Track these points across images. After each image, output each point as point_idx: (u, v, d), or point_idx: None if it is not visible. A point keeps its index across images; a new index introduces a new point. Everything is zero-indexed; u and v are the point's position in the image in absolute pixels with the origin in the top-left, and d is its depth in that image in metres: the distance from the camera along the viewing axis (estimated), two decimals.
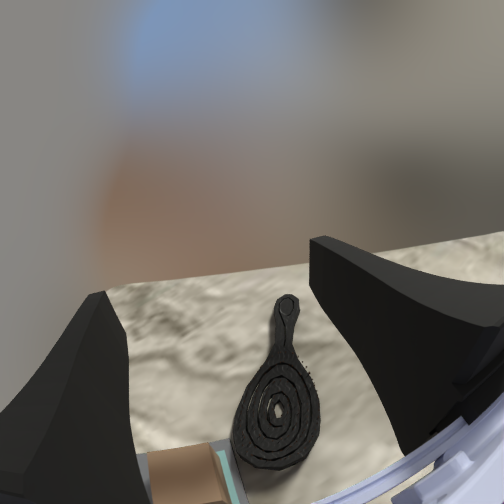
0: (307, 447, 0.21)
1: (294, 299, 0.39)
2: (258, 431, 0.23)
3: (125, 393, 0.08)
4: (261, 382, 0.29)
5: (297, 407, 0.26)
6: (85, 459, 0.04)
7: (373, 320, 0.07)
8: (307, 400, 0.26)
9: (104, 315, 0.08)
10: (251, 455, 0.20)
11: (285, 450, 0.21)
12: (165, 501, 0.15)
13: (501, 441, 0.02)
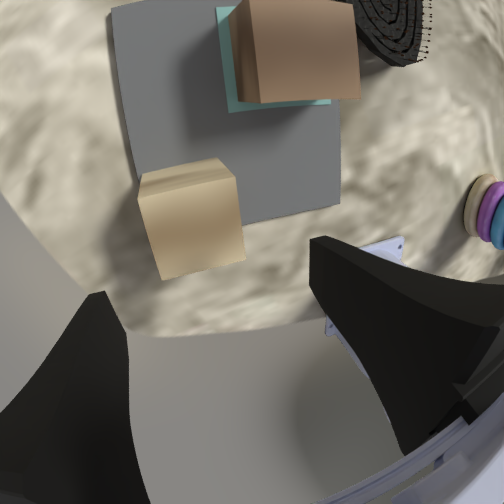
0: (415, 53, 0.15)
1: None
2: (369, 3, 0.13)
3: (125, 393, 0.08)
4: None
5: None
6: (85, 459, 0.04)
7: (373, 320, 0.07)
8: None
9: (104, 315, 0.08)
10: (371, 33, 0.13)
11: (399, 44, 0.14)
12: (281, 89, 0.12)
13: (501, 441, 0.02)
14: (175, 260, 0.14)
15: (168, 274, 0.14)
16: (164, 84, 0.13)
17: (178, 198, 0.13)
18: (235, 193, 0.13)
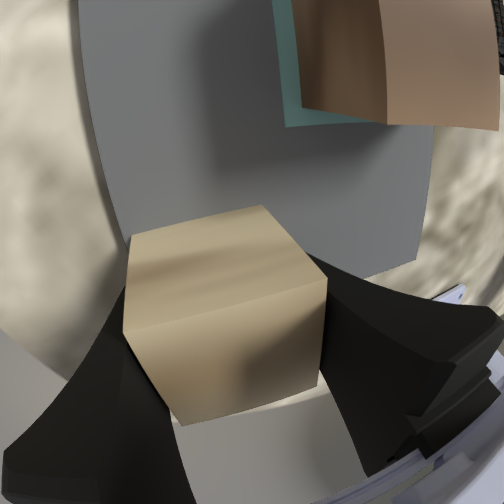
0: None
1: None
2: None
3: None
4: None
5: None
6: (144, 454, 0.04)
7: (331, 337, 0.07)
8: None
9: None
10: None
11: (499, 45, 0.07)
12: (419, 100, 0.05)
13: (501, 441, 0.02)
14: (203, 405, 0.07)
15: (192, 420, 0.08)
16: (169, 70, 0.07)
17: (211, 328, 0.06)
18: (322, 306, 0.07)
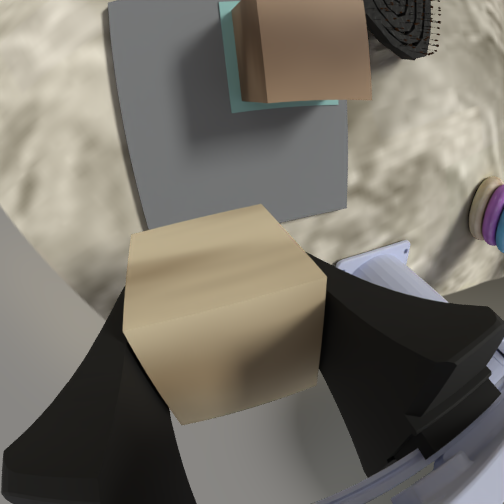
0: (425, 46, 0.14)
1: None
2: None
3: None
4: None
5: None
6: (144, 454, 0.04)
7: (331, 337, 0.07)
8: None
9: None
10: (381, 24, 0.12)
11: (409, 37, 0.13)
12: (290, 88, 0.11)
13: (501, 441, 0.02)
14: (203, 405, 0.07)
15: (192, 419, 0.08)
16: (164, 83, 0.13)
17: (211, 326, 0.06)
18: (321, 305, 0.07)
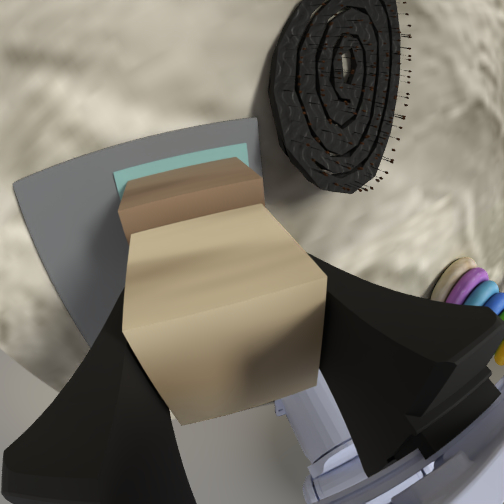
0: (377, 159, 0.15)
1: None
2: (316, 101, 0.13)
3: None
4: (331, 4, 0.11)
5: (373, 75, 0.14)
6: (144, 454, 0.04)
7: (331, 337, 0.07)
8: (387, 70, 0.14)
9: None
10: (310, 159, 0.14)
11: (354, 157, 0.15)
12: None
13: (501, 441, 0.02)
14: (202, 405, 0.07)
15: (192, 419, 0.08)
16: (82, 263, 0.14)
17: (211, 326, 0.06)
18: (322, 305, 0.07)
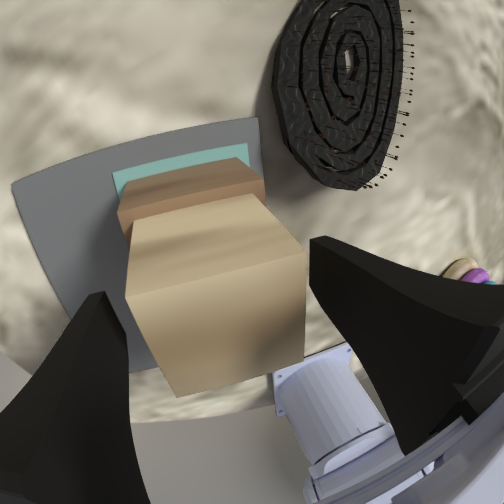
0: (381, 156, 0.15)
1: None
2: (320, 98, 0.13)
3: (125, 393, 0.08)
4: (333, 0, 0.11)
5: (376, 72, 0.14)
6: (85, 459, 0.04)
7: (373, 320, 0.07)
8: (390, 67, 0.14)
9: (104, 315, 0.08)
10: (314, 156, 0.13)
11: (358, 154, 0.14)
12: None
13: (501, 441, 0.02)
14: (196, 375, 0.08)
15: (186, 391, 0.09)
16: (81, 264, 0.14)
17: (203, 294, 0.07)
18: (303, 278, 0.07)
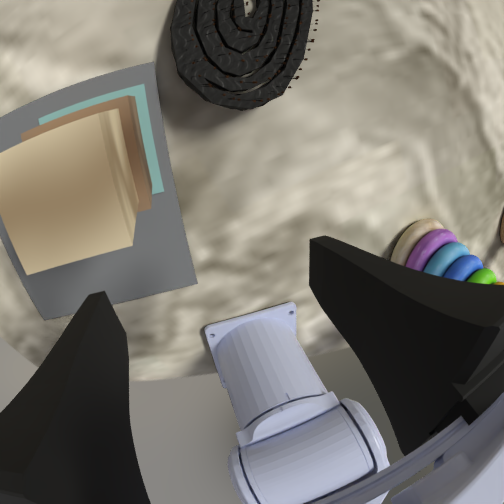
0: (286, 80, 0.15)
1: None
2: (214, 33, 0.13)
3: (125, 393, 0.08)
4: None
5: (279, 9, 0.13)
6: (85, 459, 0.04)
7: (373, 320, 0.07)
8: (296, 4, 0.13)
9: (104, 315, 0.08)
10: (202, 79, 0.13)
11: (255, 78, 0.14)
12: None
13: (501, 441, 0.02)
14: (35, 246, 0.08)
15: (32, 266, 0.08)
16: None
17: (26, 155, 0.07)
18: (100, 139, 0.07)
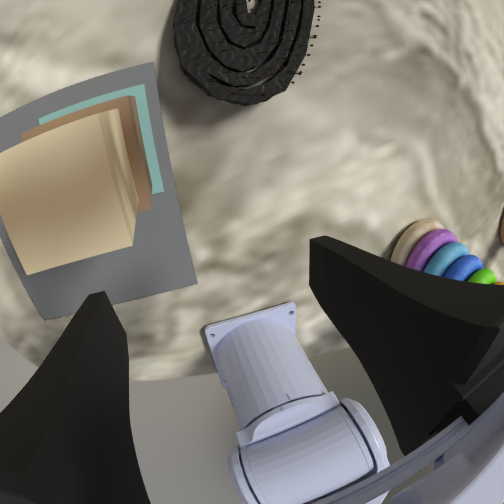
0: (289, 76, 0.14)
1: None
2: (217, 29, 0.13)
3: (125, 393, 0.08)
4: None
5: (281, 5, 0.13)
6: (85, 459, 0.04)
7: (373, 320, 0.07)
8: (298, 1, 0.13)
9: (104, 315, 0.08)
10: (206, 74, 0.13)
11: (258, 73, 0.14)
12: None
13: (501, 441, 0.02)
14: (35, 246, 0.08)
15: (32, 266, 0.08)
16: None
17: (26, 155, 0.07)
18: (100, 139, 0.07)
